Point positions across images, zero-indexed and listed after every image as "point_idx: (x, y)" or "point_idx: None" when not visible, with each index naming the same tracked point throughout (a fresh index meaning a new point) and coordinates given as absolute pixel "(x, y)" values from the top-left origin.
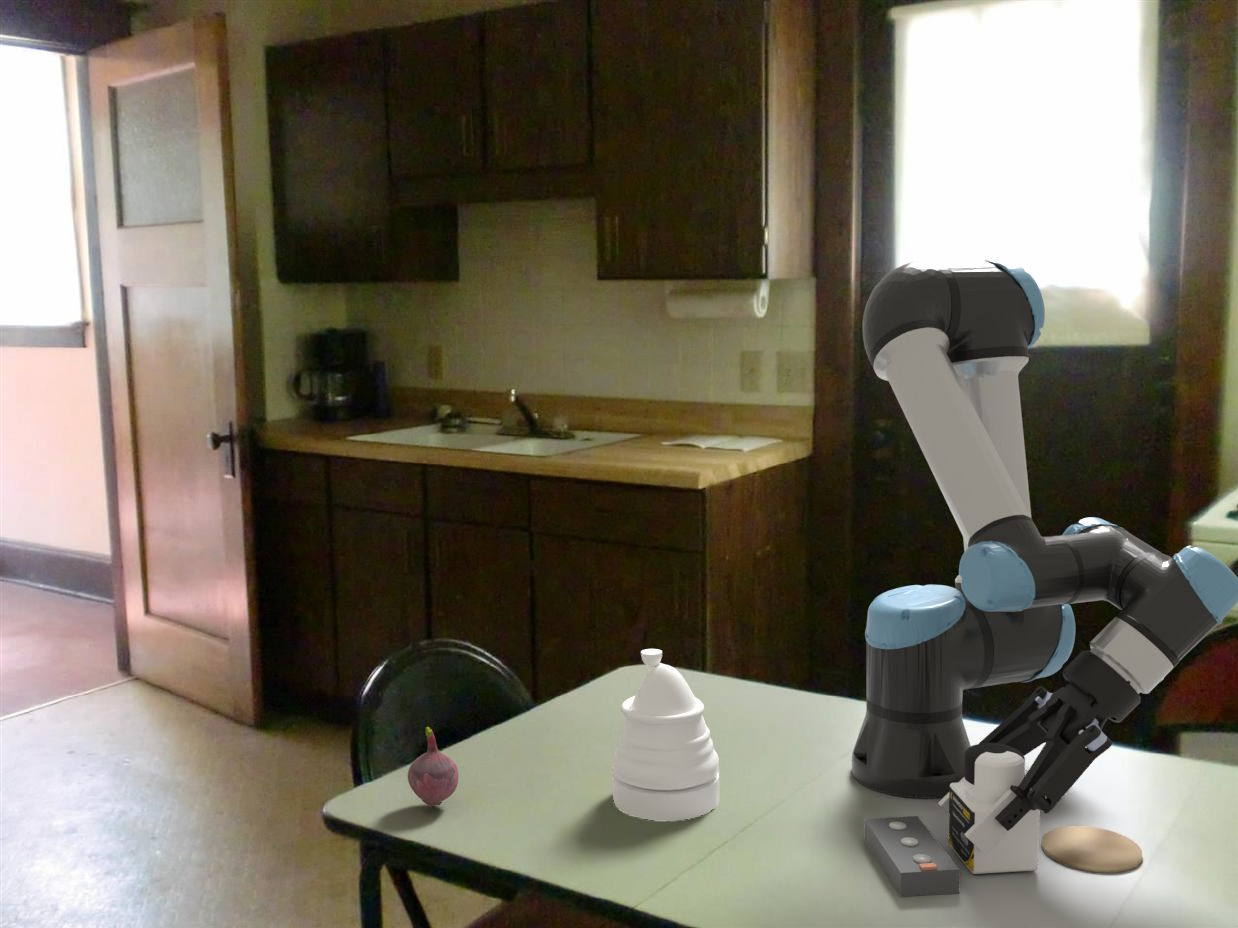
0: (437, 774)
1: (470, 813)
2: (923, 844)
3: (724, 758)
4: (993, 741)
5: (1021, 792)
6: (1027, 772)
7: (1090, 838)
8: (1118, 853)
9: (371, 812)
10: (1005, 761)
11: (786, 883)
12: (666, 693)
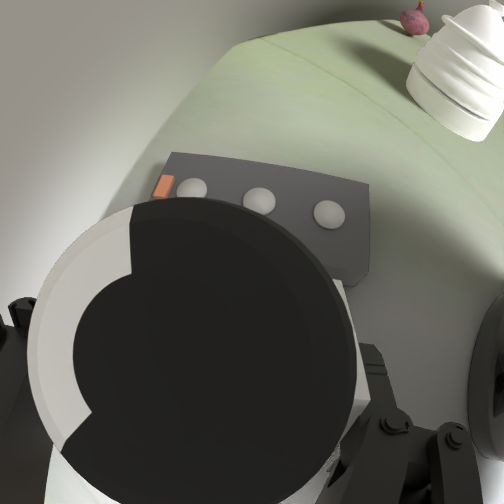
0: (404, 13)
1: (404, 39)
2: None
3: None
4: (433, 487)
5: (19, 321)
6: (18, 390)
7: None
8: None
9: (400, 25)
10: (35, 318)
11: (260, 98)
12: (467, 11)
